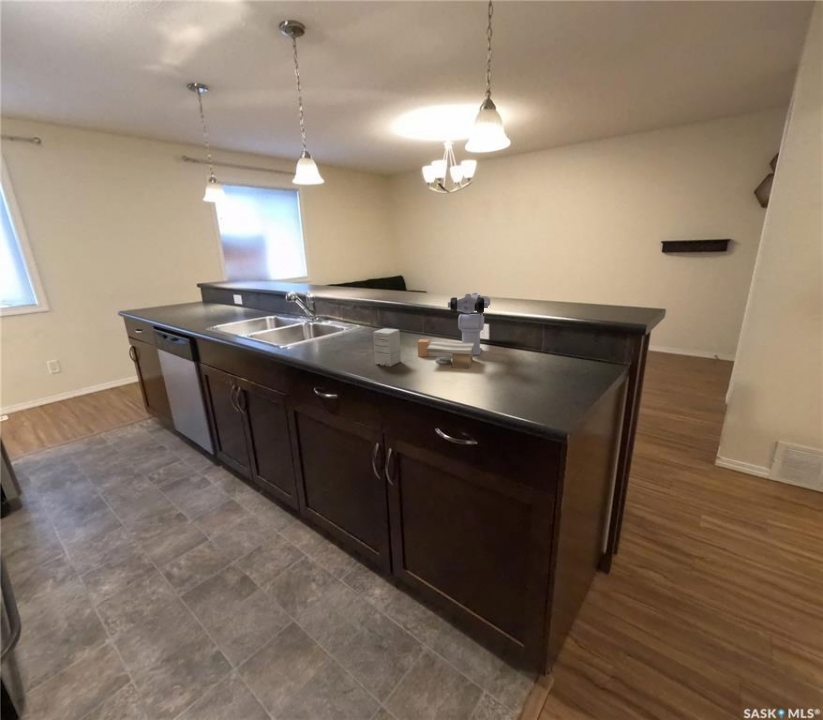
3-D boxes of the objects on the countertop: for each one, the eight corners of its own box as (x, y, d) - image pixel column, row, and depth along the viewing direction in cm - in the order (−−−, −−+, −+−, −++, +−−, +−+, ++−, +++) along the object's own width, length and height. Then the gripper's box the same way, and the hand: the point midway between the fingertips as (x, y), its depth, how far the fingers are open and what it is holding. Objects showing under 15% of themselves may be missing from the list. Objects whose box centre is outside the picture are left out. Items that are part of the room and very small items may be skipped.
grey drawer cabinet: (385, 359, 152) (383, 327, 149) (401, 361, 148) (400, 329, 145) (374, 364, 146) (372, 331, 143) (390, 366, 142) (389, 333, 139)
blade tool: (420, 353, 159) (420, 339, 157) (455, 355, 155) (455, 340, 153) (418, 356, 155) (417, 341, 153) (453, 357, 151) (453, 342, 150)
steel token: (437, 360, 150) (437, 356, 150) (452, 360, 149) (452, 357, 148) (434, 364, 145) (434, 360, 144) (449, 365, 143) (449, 361, 143)
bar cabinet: (433, 357, 152) (432, 341, 150) (474, 359, 148) (474, 343, 146) (426, 366, 142) (426, 348, 140) (470, 368, 138) (470, 350, 136)
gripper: (450, 293, 148) (443, 295, 136) (489, 293, 144) (485, 295, 132) (450, 311, 150) (443, 315, 137) (488, 312, 146) (485, 315, 133)
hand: (464, 306), depth 134 cm, fingers open, 7 cm apart
